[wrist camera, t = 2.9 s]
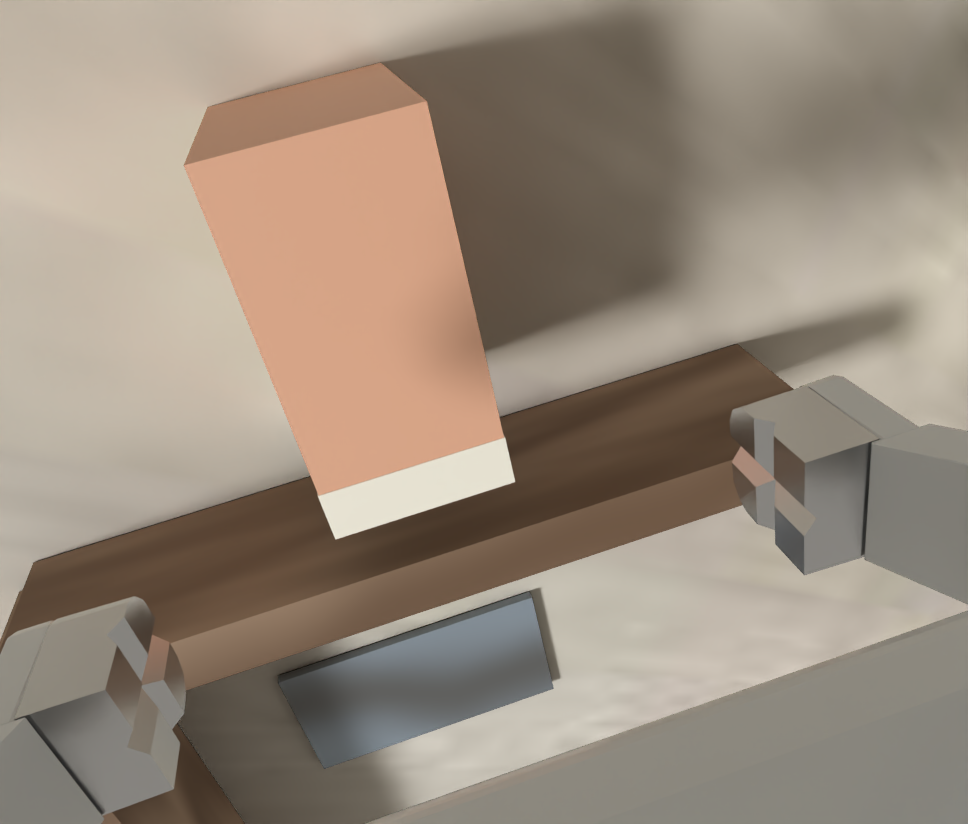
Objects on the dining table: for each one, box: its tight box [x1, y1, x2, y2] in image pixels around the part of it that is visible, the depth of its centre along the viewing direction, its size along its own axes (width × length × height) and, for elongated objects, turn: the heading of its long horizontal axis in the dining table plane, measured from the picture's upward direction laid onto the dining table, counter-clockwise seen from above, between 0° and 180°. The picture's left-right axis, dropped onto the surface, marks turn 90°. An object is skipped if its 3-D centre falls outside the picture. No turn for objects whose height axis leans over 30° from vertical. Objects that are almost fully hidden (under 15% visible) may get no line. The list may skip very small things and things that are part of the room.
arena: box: [0, 344, 794, 824], centre depth 27 cm, size 22×22×5 cm
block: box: [184, 62, 515, 540], centre depth 17 cm, size 8×4×6 cm, turn 12°
